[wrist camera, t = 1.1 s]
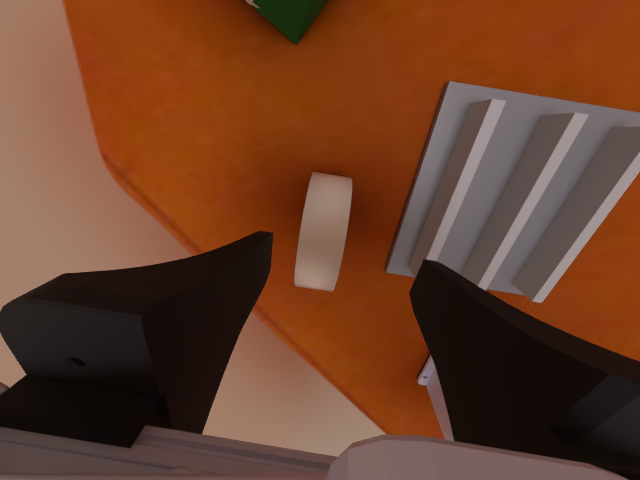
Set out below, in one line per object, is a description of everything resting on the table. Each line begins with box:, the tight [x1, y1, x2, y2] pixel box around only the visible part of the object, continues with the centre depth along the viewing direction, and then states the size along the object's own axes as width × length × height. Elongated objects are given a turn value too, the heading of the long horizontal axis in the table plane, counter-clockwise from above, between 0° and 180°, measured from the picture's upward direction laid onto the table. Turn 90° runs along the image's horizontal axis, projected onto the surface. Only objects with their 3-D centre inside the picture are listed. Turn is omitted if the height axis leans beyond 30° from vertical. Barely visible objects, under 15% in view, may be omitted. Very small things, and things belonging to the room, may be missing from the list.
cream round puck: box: [295, 172, 352, 292], centre depth 16 cm, size 8×2×8 cm, turn 172°
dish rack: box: [385, 81, 640, 303], centre depth 17 cm, size 15×14×3 cm
